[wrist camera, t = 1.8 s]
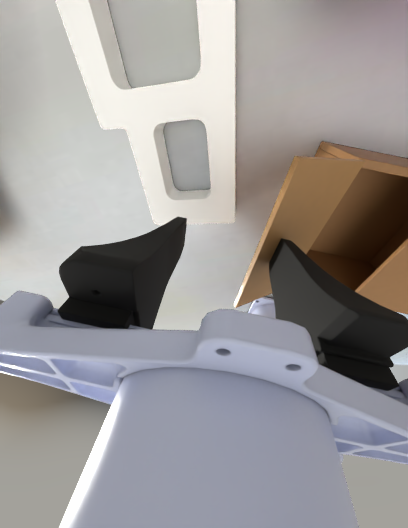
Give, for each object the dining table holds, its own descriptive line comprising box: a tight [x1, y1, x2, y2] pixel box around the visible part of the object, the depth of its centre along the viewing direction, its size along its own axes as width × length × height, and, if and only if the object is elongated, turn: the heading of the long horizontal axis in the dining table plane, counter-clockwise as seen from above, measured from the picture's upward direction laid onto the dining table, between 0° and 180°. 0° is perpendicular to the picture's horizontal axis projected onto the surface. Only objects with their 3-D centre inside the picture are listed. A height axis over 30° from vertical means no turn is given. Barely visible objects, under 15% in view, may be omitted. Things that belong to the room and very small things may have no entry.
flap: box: [234, 156, 365, 308], centre depth 13 cm, size 6×11×1 cm
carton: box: [306, 141, 408, 314], centre depth 17 cm, size 12×11×8 cm
